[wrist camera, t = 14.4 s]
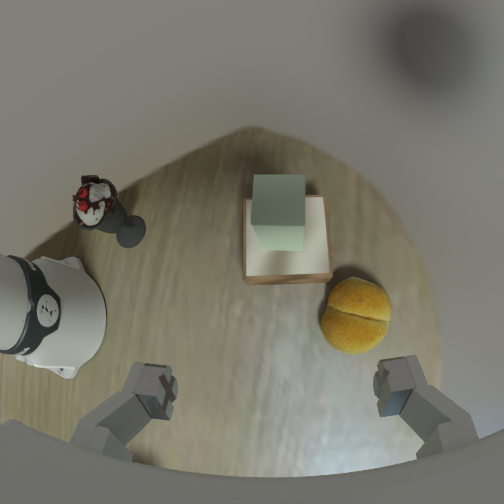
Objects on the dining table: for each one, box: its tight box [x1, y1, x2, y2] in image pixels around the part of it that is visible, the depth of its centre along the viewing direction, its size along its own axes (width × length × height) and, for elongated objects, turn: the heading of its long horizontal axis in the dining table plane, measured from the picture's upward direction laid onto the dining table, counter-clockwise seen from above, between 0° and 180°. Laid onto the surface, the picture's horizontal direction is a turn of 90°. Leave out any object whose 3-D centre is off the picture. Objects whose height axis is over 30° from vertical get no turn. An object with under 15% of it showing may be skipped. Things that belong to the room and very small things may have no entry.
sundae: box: [73, 175, 145, 248], centre depth 34 cm, size 7×7×15 cm
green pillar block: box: [250, 175, 305, 251], centre depth 30 cm, size 5×5×9 cm
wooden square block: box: [243, 195, 333, 285], centre depth 37 cm, size 10×10×4 cm
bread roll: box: [321, 277, 392, 355], centre depth 33 cm, size 8×9×4 cm
